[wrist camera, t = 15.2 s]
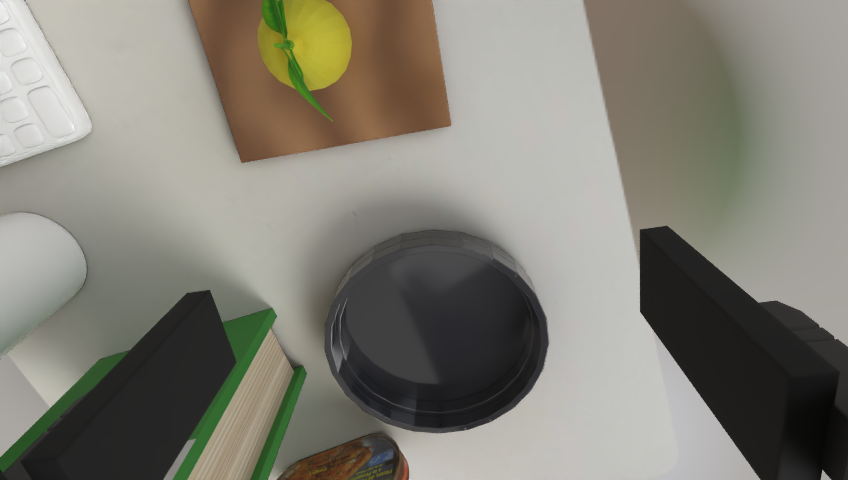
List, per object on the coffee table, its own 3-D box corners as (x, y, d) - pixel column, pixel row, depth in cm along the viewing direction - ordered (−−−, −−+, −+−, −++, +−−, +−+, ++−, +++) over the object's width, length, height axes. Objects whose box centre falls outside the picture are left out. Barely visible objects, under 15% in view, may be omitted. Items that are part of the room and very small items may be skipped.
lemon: (350, 105, 35) (321, 131, 26) (270, 79, 35) (211, 96, 25) (376, 7, 33) (353, -3, 24) (289, -24, 32) (231, -46, 23)
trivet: (416, -96, 31) (416, -100, 30) (451, 123, 37) (451, 126, 36) (179, -45, 33) (172, -47, 32) (245, 159, 38) (241, 163, 37)
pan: (529, 211, 39) (538, 227, 36) (547, 392, 46) (556, 419, 43) (309, 246, 41) (298, 265, 38) (358, 416, 48) (353, 444, 44)
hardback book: (272, 307, 43) (102, 599, 21) (306, 373, 46) (188, 693, 24) (99, 359, 46) (-215, 668, 23) (142, 418, 48) (-104, 746, 26)
